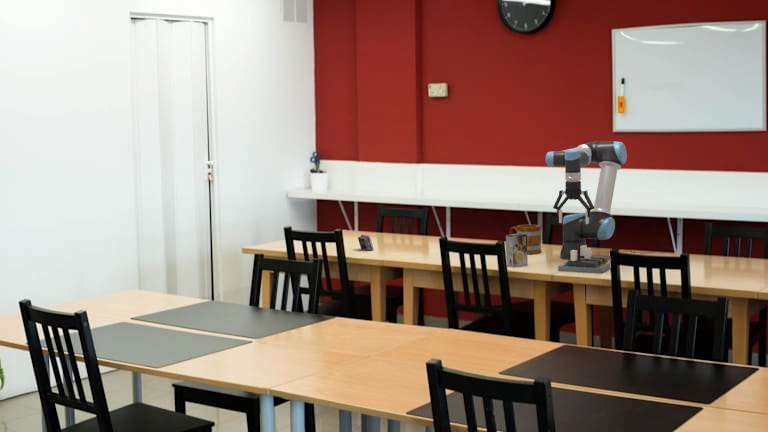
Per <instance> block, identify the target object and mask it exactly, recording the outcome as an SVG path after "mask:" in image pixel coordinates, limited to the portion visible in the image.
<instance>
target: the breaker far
mask: <svg viewBox="0 0 768 432" xmlns="http://www.w3.org/2000/svg"><path fill="white" fill-rule="evenodd" d="M585 248H588V245H587V244H586V245H582V246H580V256H584V249H585Z"/></svg>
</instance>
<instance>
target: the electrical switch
mask: <svg viewBox="0 0 768 432" xmlns="http://www.w3.org/2000/svg"><path fill="white" fill-rule="evenodd" d="M357 240H358V243H359V246H360V247H359V248H360V249H361V251H366V252H369V251H371V252H372V251H374V250H375V249H374V246H373V245H374V244H373V242H372V241H373V240H372V239H371V236H370V234H369V235H368V234H364V233H361V234H360V236H358V237H357Z"/></svg>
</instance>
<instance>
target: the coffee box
mask: <svg viewBox="0 0 768 432" xmlns="http://www.w3.org/2000/svg"><path fill="white" fill-rule="evenodd" d="M505 253H506V254H505V255H506V259H505V260H506V261H507V264H506V266H507V267H512V268H515V267H523V266H524V267H525V266H528V263H529V262H528V255H527V234H521V233H518V234H517V233H513V234H510V233H509V234H505Z"/></svg>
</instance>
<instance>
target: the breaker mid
mask: <svg viewBox="0 0 768 432" xmlns="http://www.w3.org/2000/svg"><path fill="white" fill-rule="evenodd" d="M591 256H592V248H591V247H587V248H585V249H584V259H590V258H591Z"/></svg>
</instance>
